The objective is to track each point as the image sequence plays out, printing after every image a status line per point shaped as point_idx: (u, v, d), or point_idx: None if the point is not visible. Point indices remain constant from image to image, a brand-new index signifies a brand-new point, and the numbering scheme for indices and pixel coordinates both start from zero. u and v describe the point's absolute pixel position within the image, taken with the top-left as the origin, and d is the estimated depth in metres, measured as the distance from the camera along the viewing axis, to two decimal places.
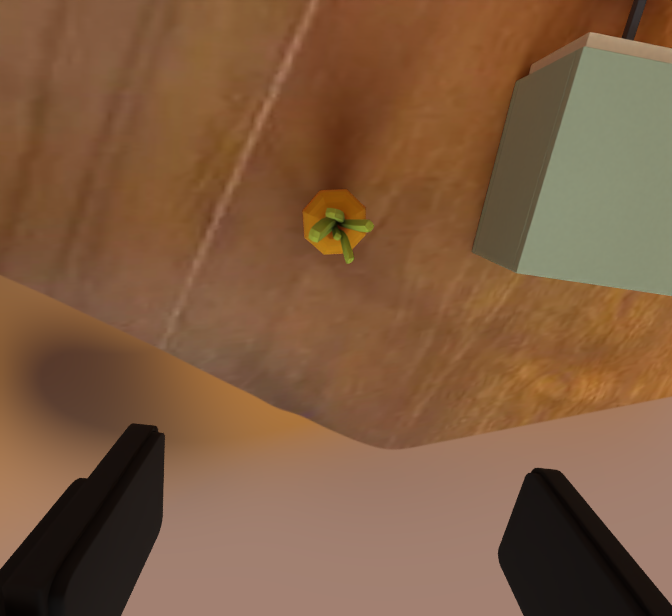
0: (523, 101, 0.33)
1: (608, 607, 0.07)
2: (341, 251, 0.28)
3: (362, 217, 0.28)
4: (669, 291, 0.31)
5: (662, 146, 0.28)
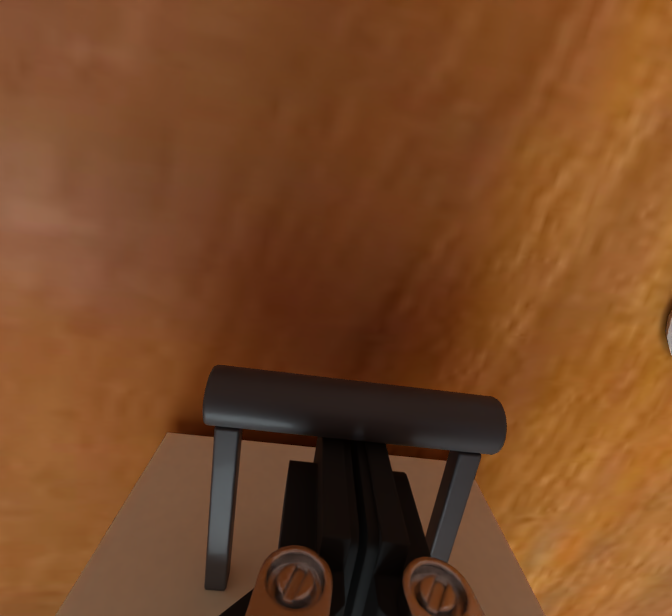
0: None
1: (361, 526, 0.08)
2: None
3: None
4: None
5: None
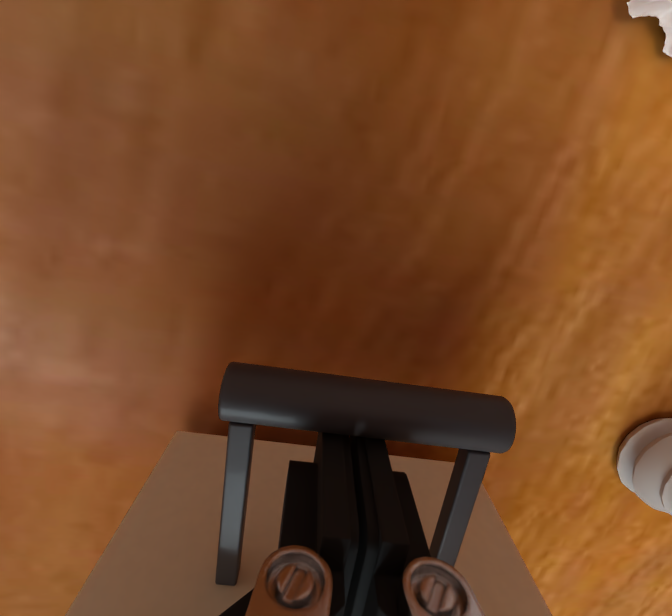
0: None
1: (361, 526, 0.08)
2: None
3: None
4: None
5: None
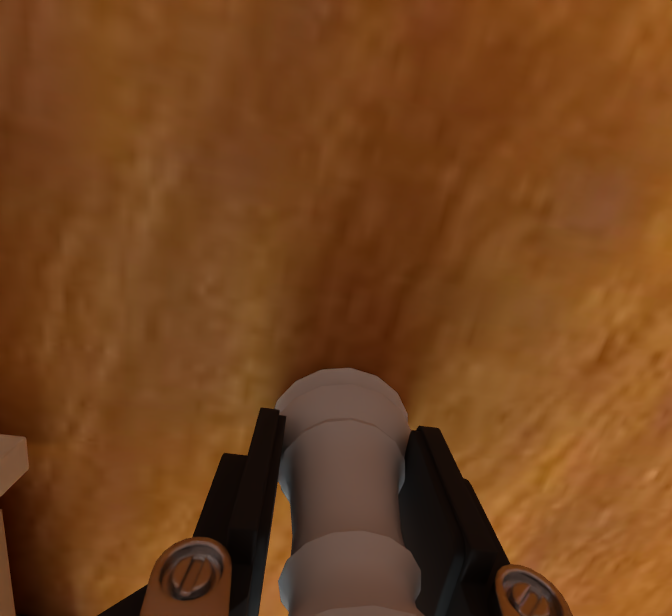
0: None
1: (440, 534, 0.08)
2: None
3: None
4: None
5: None
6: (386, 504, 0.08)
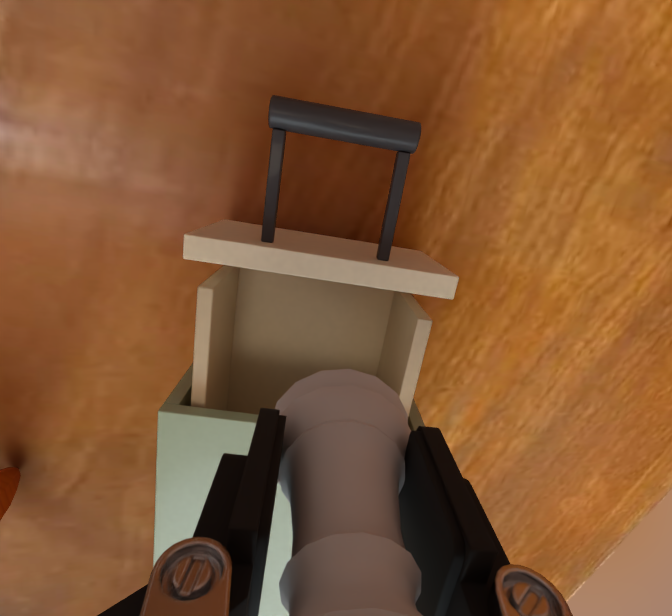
0: None
1: (440, 534, 0.08)
2: None
3: None
4: None
5: None
6: (386, 506, 0.08)
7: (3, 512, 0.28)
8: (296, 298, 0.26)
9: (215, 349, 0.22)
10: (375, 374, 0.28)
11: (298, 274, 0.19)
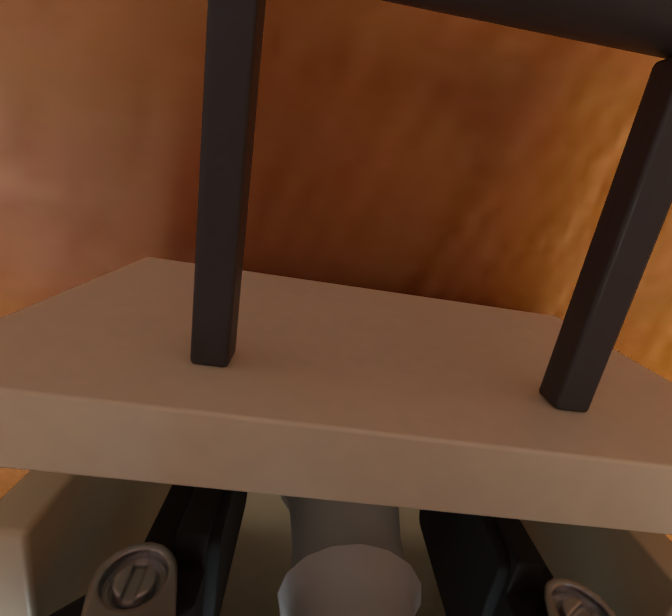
0: None
1: (481, 545, 0.08)
2: None
3: None
4: None
5: None
6: (385, 516, 0.08)
7: None
8: None
9: None
10: None
11: (314, 495, 0.05)
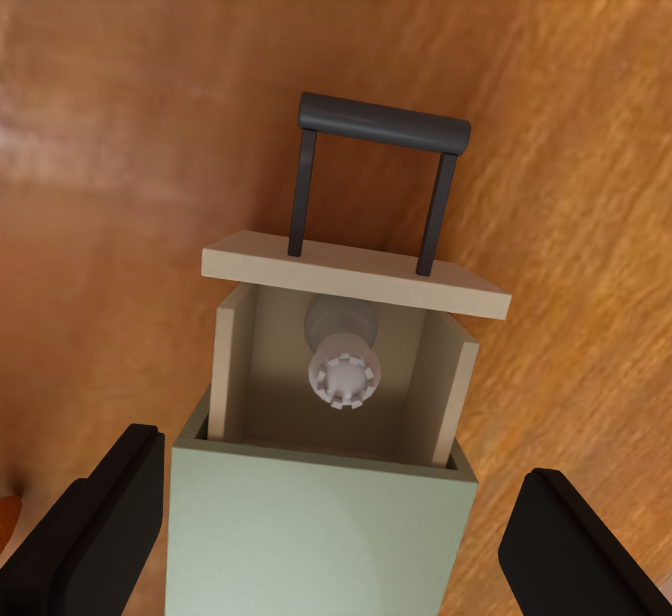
0: None
1: (608, 607, 0.07)
2: None
3: None
4: None
5: (324, 549, 0.20)
6: (359, 334, 0.20)
7: (2, 547, 0.26)
8: None
9: (234, 374, 0.20)
10: (405, 397, 0.26)
11: (330, 292, 0.17)
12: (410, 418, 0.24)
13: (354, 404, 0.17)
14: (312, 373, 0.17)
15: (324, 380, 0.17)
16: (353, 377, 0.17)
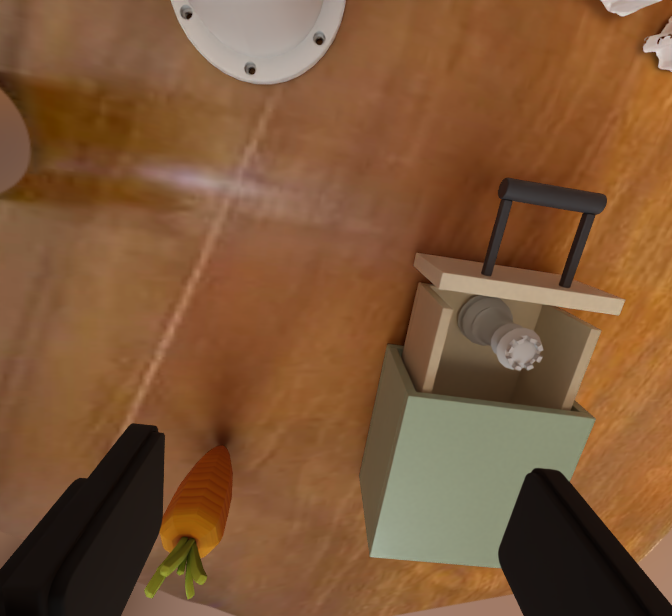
0: (387, 377, 0.35)
1: (608, 607, 0.07)
2: None
3: (213, 534, 0.30)
4: None
5: (492, 464, 0.30)
6: None
7: None
8: None
9: None
10: None
11: (515, 299, 0.27)
12: (529, 383, 0.35)
13: (529, 367, 0.27)
14: (501, 349, 0.28)
15: (510, 353, 0.27)
16: (528, 351, 0.27)
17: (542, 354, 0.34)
